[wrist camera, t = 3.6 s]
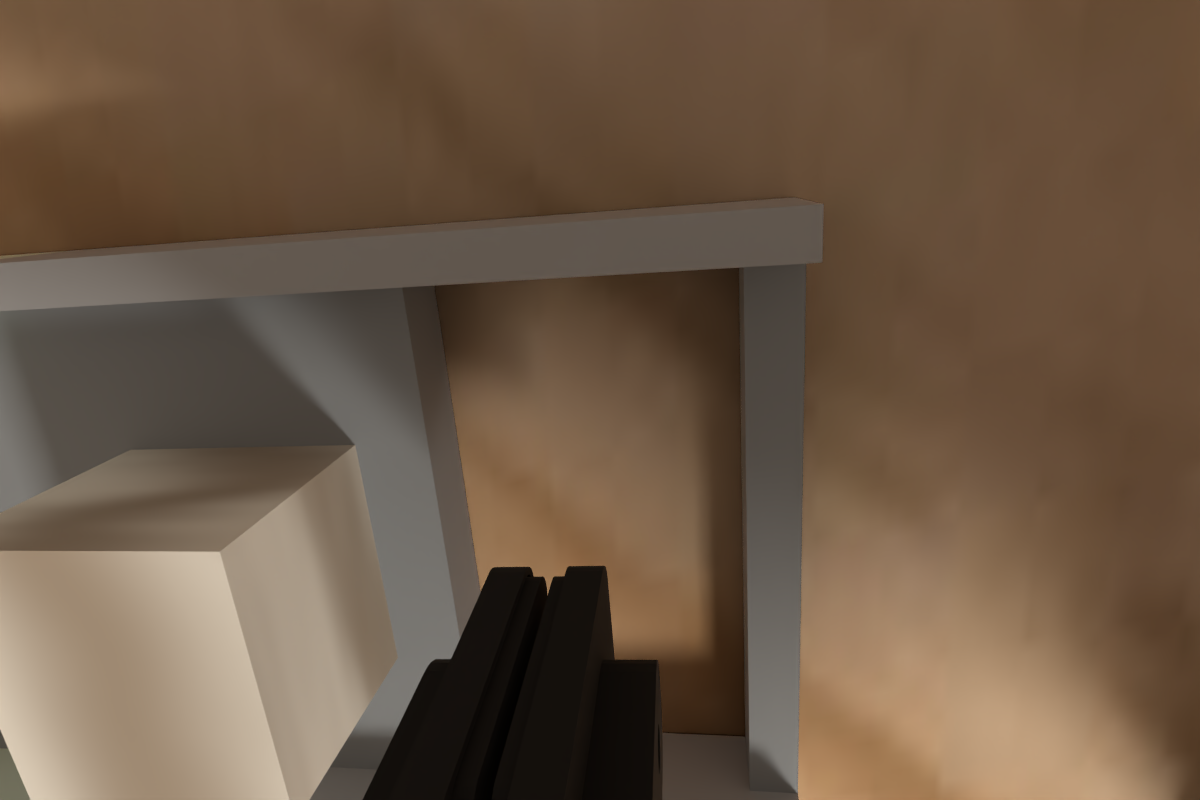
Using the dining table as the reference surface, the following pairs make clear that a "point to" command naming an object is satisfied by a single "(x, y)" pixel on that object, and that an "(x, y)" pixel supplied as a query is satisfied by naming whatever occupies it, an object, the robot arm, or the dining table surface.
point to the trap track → (408, 412)
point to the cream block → (191, 625)
